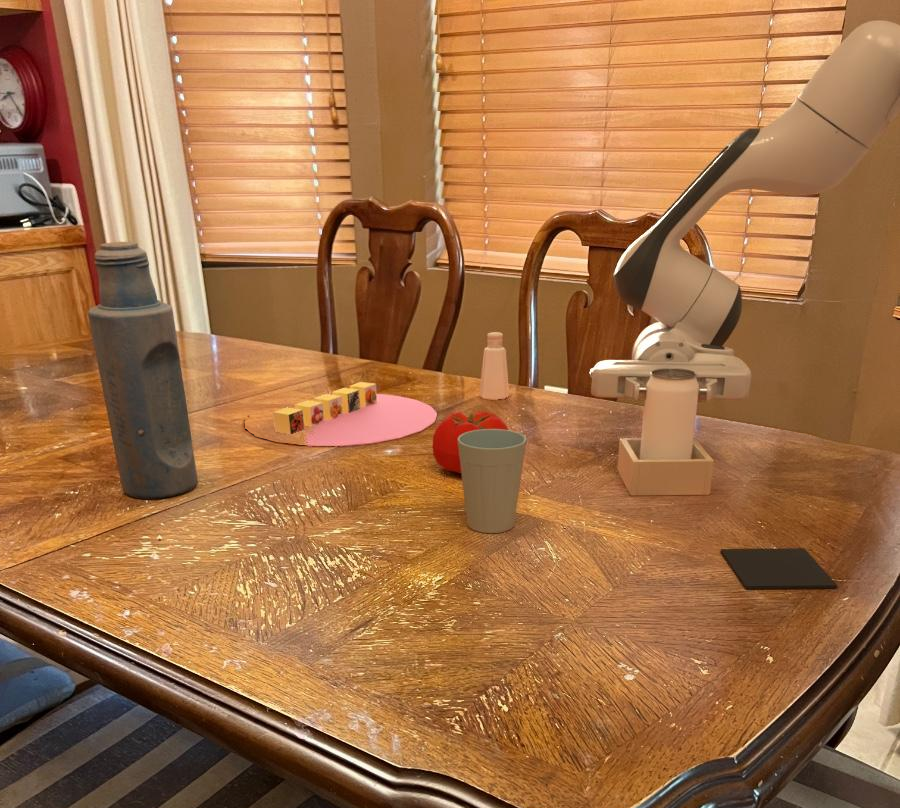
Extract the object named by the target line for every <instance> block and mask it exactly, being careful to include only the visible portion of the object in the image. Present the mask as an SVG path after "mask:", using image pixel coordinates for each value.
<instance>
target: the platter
mask: <svg viewBox="0 0 900 808" xmlns="http://www.w3.org/2000/svg"><path fill="white" fill-rule="evenodd" d="M331 394H332V395H331ZM320 395H321V396H318V397H315V398H314V401H309V400H307V401H304V402H301V403H298V404H295V405H294V406H295V409H294V408H288V407H286V408H283V409H281V410H278V411H275V412H273V418H274V427H275V431H276V432H281V433H287V434H293V433H296V432H299V431H302V430H304V425H305V426H309V427H312V428H313V427H315V428H313V429H312V428H310V429H312V430H311V431H313V430H314V429H315V430H314V431H313V432H311V431H309V430H310V429H309V430H307V431H309V432H308V433H307V434H308V435H307V436H306V437H305V439H306V438H308V439H307V440H306V442H308V443H306V444H305V445H307V444H308V446H307V447H312V446H335V447H334V448H338V447H337V446H340V447H352V446H364V445H374V444H378V443H384V442H389V441H395V440H400V439H403V438H406V437H409V436H411V435H415V434H418V433H422V432H423V431H425V430H426V429H428V428H429V427H431V426H432V425H434V424H435V423H436V419H437V417H438V412H437V411H436V410H435V409H434V407H432V405H429V404H427V403H425V402H422V401H420V400H418V399H414V398H409V397H404V396H400V395H394V394H384V393H377V383H372V382H366V381H359V382H356V383H354V384H350V385H349V387H342V388H339V389H336V390H333V391H331V393H325V394H320ZM307 429H308V428H307ZM307 431H306V432H307ZM310 432H311V434H309V433H310ZM314 432H315V433H314ZM313 433H314V434H313ZM312 434H313V435H312ZM305 439H304V440H305ZM304 443H305V442H304ZM310 445H311V446H310Z"/></svg>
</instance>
